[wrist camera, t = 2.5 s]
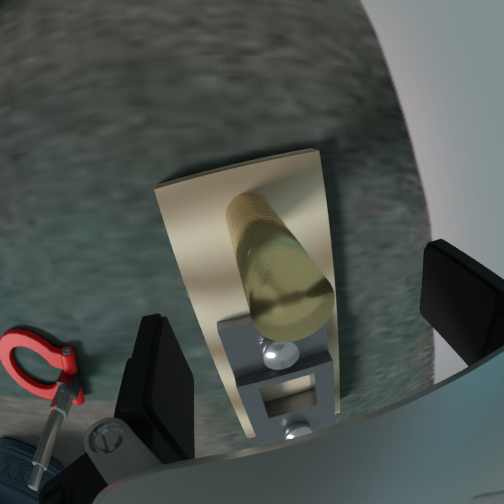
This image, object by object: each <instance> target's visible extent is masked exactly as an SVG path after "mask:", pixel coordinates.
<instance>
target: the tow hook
mask: <svg viewBox="0 0 504 504" xmlns="http://www.w3.org/2000/svg"><path fill="white" fill-rule="evenodd" d="M17 346H23V347H27V348H30V349H32V350H34V351H36V352H37V353H39V354H40V355H42V356H43V357H44V358H45V359H46V360H47V361H48V362H49V363H50V364H51V365H52V366H53V367H57V368H60V369H62V372H61V374H60V376H59V378H58V380H57V383H55V384H53V385H44V384H40V383H38V382H36V381H34V380H32V379H31V378H29V377H28V376H27V375H25V374H24V373H23V372H22V371H21V369H20V368H19V367H18V366H17V364H16V362H15V360H14V358H13V352H12V351H13V348H14V347H17ZM0 359H1V361H2V364H3V365H4V367H5V369H6V370H7V372H8V373H9V374H10V375H11V376H12V378H13V379H14V380H15V381H16V382H17V383H19V384H20V385H21V386H22V387H23V388H25V389H27V390H28V391H30V392H31V393H33V394H35V395H38V396H40V397H43V398H47V399H53V400H52V403H51V405H50V410H51V413H50V415H49V418H48V420H47V423H46V426H45V428H44V431H43V434H42V436H41V439H40V442H39V445H38V447H37V450H36V453H35V456H34V459H33V462H32V463H33V465H34V468H33V471H32V475H31V478H30V481H29V485H28V486H29V487H30V488H31V489H33V490H35V491H38V489H39V485H40V481H41V478H42V474H43V471H44V470H47V467H48V464H49V460H50V457H51V454H52V451H53V448H54V445H55V442H56V439H57V436H58V433H59V430H60V427H61V424H62V421H63V418H66V417H67V416H68V413H69V410H70V407H71V405H72V402H73V403H74V404H76V405H81V404H83V403H84V401H85V398H84V394H83V390H82V381H81V377H80V372H79V368H78V367H77V363H76V358H75V353H74V349H73V348H72V347H70V346H64V347H62V348H61V349H60V348H56V347H53V346H52V345H51V344H50V343H49V342H48V341H46V340H45V339H43V338H42V337H40V336H39V335H36V334H34V333H32V332H30V331H27V330H23V329H11V330H9V331H7V332H5V333H4V335H3V336H2V338H1V339H0Z"/></svg>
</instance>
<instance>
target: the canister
mask: <svg viewBox="0 0 504 504" xmlns="http://www.w3.org/2000/svg"><path fill="white" fill-rule="evenodd" d="M36 450H37V449H35V448H33V447H31V446H29V445H27V444H24V443H22V442H19V441H16V440H12V439H7V438H3V439H0V504H39V494H40V491H41V489H42V487H43V486H44V485H45V484H46V483H47V482H48V481H49V480H51V479H52V478H53V477H55V476H56V475H57V474H59V473H60V472H61V471H62V470H64V468H63V467H62V466H61V465H60V464H59V463H58V462H56V461H55V460H54V459H52V458H51V457H50V460H49V464H48V467H47V470H44V471H43V474H42V478H41V481H40V485H39V489H38V491H35V490H33V489H31V488H30V487H29V486H28V485H29V481H30V478H31V475H32V471H33V468H34V465H33V463H32V462H33V459H34V456H35V453H36Z"/></svg>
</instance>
